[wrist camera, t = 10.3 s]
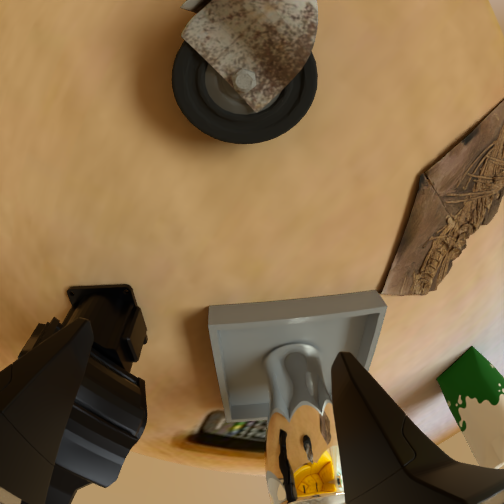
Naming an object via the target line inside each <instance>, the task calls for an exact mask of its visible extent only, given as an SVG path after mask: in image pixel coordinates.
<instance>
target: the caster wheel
mask: <svg viewBox="0 0 504 504" xmlns="http://www.w3.org/2000/svg"><path fill="white" fill-rule="evenodd" d="M180 8H183V9H186V10H189V11H192V12H195V13H197V14H196V15H195V16H193V17H192V19H191V20H190V21H189V22H188V23H187V25H186V27H185V28H184V30H183V31H182V33H181V37H182V38H183V39H184V40H185V41H184V42H183V44H182V46H181V47H180V49H179V51H178V53H177V55H176V58H175V61H174V65H173V70H172V87H173V92H174V96H175V99H176V101H177V104H178V106H179V107H180V109H181V111H182V113H183V114H184V115H185V116H186V118H187V119H188V120H189V121H190V123H192V124H193V125H194V126H195V127H197V128H198V129H199V130H200V131H202V132H203V133H205V134H207V135H209V136H211V137H213V138H215V139H218V140H221V141H224V142H229V143H235V144H253V143H260V142H264V141H268V140H271V139H274V138H276V137H278V136H280V135H282V134H284V133H286V132H287V131H288V130H290V129H291V128H292V127H294V126H295V125H296V124H297V123H298V122H299V121H300V120H301V119H302V118H303V117H304V115H305V114H306V113H307V111H308V109H309V108H310V106H311V104H312V102H313V100H314V97H315V93H316V90H317V77H318V75H317V67H316V61H315V59H314V56H313V54H312V48H313V45H314V42H315V38H316V33H317V25H318V7H317V0H187V1H185V2H184V3H183V5H182V6H181V7H180Z"/></svg>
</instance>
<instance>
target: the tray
mask: <svg viewBox="0 0 504 504" xmlns="http://www.w3.org/2000/svg"><path fill="white" fill-rule="evenodd" d="M386 309H387V305H386V304H385V302H384V301H383V299H382V298H381V296H380V295H379V293H378V292H377V291H376V290H373V291H365V292H357V293H348V294H340V295H331V296H321V297H312V298H302V299H292V300H281V301H269V302H257V303H244V304H230V305H215V306H209V316H208V328H209V334H210V340H211V345H212V351H213V356H214V362H215V367H216V372H217V378H218V383H219V388H220V393H221V398H222V402H223V407H224V412H225V417H226V421H227V422H244V421H257V420H267V419H268V410H269V392H268V387H267V384H266V381H265V378H264V375H263V372H262V363H263V361H264V359H265V357H266V356H267V355H268V354H269V353H270V352H272V351H273V350H275V349H277V348H279V347H281V346H284V345H289V344H307V345H311V346H313V347H315V348H317V349H318V350H319V351H320V353H321V355H322V358H323V375H324V381H325V385H326V388H327V391H328V393H329V395H330V397H331V400H332V384H331V367H332V364H333V362H334V360H335V358H336V356H337V354H338V353H339V352H340V351H346V352H351V353H352V354H353V356H354V357H355V358H356V359H357V360H358V361H359V362H360V363H361V364H362V366H363V367H364V368H365V369H366V370H367V371H368V370H369V367H370V364H371V361H372V358H373V355H374V352H375V348H376V345H377V342H378V338H379V335H380V331H381V328H382V324H383V320H384V317H385V313H386Z"/></svg>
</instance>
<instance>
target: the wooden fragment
mask: <svg viewBox="0 0 504 504" xmlns="http://www.w3.org/2000/svg"><path fill="white" fill-rule="evenodd" d="M424 173H426V174H427V176H428V178H429V179H426V177H425V176H426V175H425V176H424ZM424 173H423V174H422V175H421V176H420V181H419V190H418V193H417V196H416V199H415V203H414V206H413V209H412V212H411V215H410V218H409V222H408V224H407V227H406V229H405V232H404V235H403V238H402V240H401V243H400V246H399V248H398V252H397V254H396V256H395V259H394V262H393V263H392V268H391V269H390V271H389V274H388V277H387V280H386V283H385V286H384V289H383V291H382V293H380V294H390V295H398V296H404V295H412V294H416V295H418V294H419V295H426V294H427V293H428V292H429V291H434V290H437V286H438V285H439V284H440V283H441V282H442V280H443V278H444V277H445V276H446V275H447V274H448V272H449V271H450V269H451V267H452V261H453V260H455V259H456V258H457V257H459V255H460V254H461V253H462V252H461V251H462V250H463V249H465V248H466V239H467V238H469V236H470V235H472V234H473V233H475V231H476V230H478V229H479V226H480V225H487V224H488V223H489V222H490V221H491V220H492V219H493V217H494V216H495V214H496V213H497V212H498V208H499V205H500V202H501V199H502V197H503V195H504V101H503V102H501V103H500V104H499V105H498V107H496V108H495V109H494V110H493V111H492V112H491V113H490V114H489V115H488V116H487V117H486V118H485V119H484V120H483V121H482V122H481V123H480V124H479V125H478V126H477V127H476V128H475V129H474V130H473V132H472V133H470V134H469V135H468V136H467V137H466V138H465V139H464V140H462V141H461V142H460V143H459V144H458V145H456V146H455V147H454V148H453V149H452V150H451V151H450V152H448V153H447V154H446V156H445V157H443V158H442V159H441V160H440V161H439V162H437V163H436V164H435V165H433V166H432V167H431V168H430V169H429V170H427V171H426V172H424Z"/></svg>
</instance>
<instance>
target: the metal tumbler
mask: <svg viewBox="0 0 504 504" xmlns="http://www.w3.org/2000/svg"><path fill="white" fill-rule="evenodd" d="M262 372H263V375H264V378H265V381H266V384H267V387H268V392H269V410H268V419H267V427H266V436H265V451H264V454H265V471H266V479H267V485H268V491H269V496H270V501H271V504H345V496H344V488H343V479H342V471H341V463H340V456H339V448H338V441H337V434H336V427H335V421H334V414H333V407H332V400H331V397H330V395H329V393H328V391H327V388H326V385H325V381H324V375H323V358H322V355H321V353H320V351H319V350H318V349H317V348H315V347H313V346H311V345H307V344H289V345H284V346H281V347H279V348H277V349H275V350H273V351H272V352H270V353H269V354H268V355H267V356H266V357H265V359H264V361H263V363H262Z"/></svg>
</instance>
